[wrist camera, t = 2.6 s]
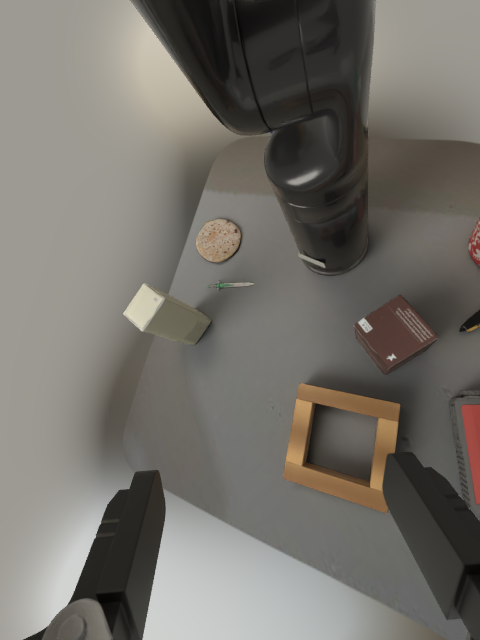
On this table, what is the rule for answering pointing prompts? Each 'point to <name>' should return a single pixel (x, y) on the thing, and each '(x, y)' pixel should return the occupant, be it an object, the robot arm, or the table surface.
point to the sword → (231, 285)
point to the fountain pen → (471, 323)
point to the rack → (333, 480)
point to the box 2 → (394, 334)
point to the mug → (475, 244)
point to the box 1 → (166, 316)
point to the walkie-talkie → (468, 444)
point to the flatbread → (218, 240)
